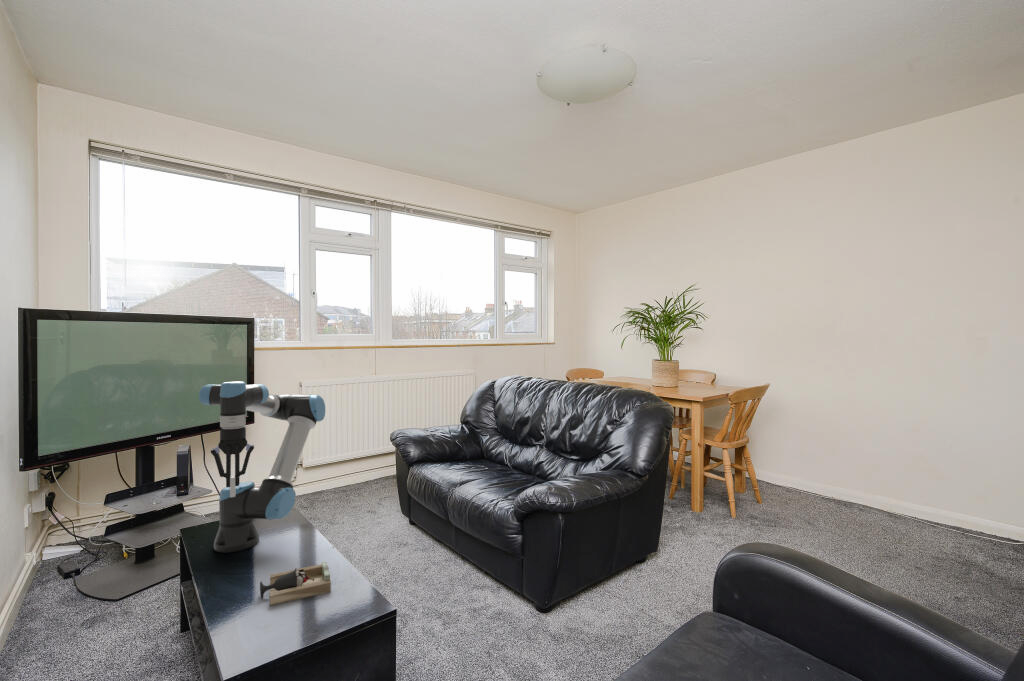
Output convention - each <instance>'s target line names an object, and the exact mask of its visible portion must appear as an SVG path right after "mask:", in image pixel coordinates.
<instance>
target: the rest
mask: <svg viewBox="0 0 1024 681" xmlns="http://www.w3.org/2000/svg"><path fill="white" fill-rule="evenodd" d="M295 569H296V570H297V571H298V570H302V569H304V570H303V572H304V573H305V574H306V575H307V576H308V577H309V579H308V580H307V581H306V582H305V583H303V584H302V586H298V587H294V588H289V589H285V590H280V591H277V590H276V589H274V588H272V589H269V606H270V607H272V606H276V605H280V604H281V605H282V604H285V603H290V602H293V601H297V600H301V599H306V598H310V597H314V596H319V595H322V594H327V593H331V592H332V589H331V588H332V581H331V573H330V570H329V565H328V562H327V561H322V562H321V563H320V564H315V565H310V566H306V567H302V568H295ZM295 569H292V570H287V571H282V572H277V573H273V574H270V575H269V582H270V583H269V585H272V584H274V583H275V581H276V580H277V579H278V578H279V577H281V576H283V575H285V574H288V573H290V572H292V571H294V570H295ZM311 578H312V580H311ZM313 579H314V581H313Z"/></svg>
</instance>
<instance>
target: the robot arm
mask: <svg viewBox="0 0 1024 681" xmlns="http://www.w3.org/2000/svg"><path fill="white" fill-rule="evenodd" d="M198 400H199V402H200V403H201V404H202V405H205V406H206V405H207V406H219V407H220V413H219V427H220V429H219V443H218V445H217V446H216V447H214V448H211V450H210V453H211V455H212V457H213V458H214V460H215V464H216V467H217V471H218V474H219V477H221V478H225V485H226V486H225V487H223V488H222V489H221V491H220V492H219V499H218V502H219V508H218V510H219V528H218V530H217V533H216V536H215V539H214V542H213V549H214V551H215V552H217V553H224V554H225V553H233V552H234V553H235V552H240V551H243V550H247V549H249V548H251V547H253V546H255V545H256V544H258V543H259V542H260V534H259V530H258V528H257V525H256V523H255V520H269V521H271V520H281V519H284V518H285V517H286V516H288V515H289V514H290V512H291V511H292V510H293V507H294V505H295V501H296V490H295V489H294V484H293V482H292V481H293V478H294V475H295V474H296V473H295V472H296V471H297V470H296V469H297V466H298V464H299V461H300V458H301V456H302V452H303V450H304V447H305V444H306V441H307V439H308V436H309V434H310V430H312V429H315V427H316V426H317V423H318V422H319V423H320V422H322V421H323V420H324V419H325V416H326V404H325V400H324V399H323V397H322V396H320V395H319V394H272V393H271V394H270V392H269V389H268V387H267V386H266V385H265V384H261V383H253V384H247V383H246V382H245V381H240V380H239V381H236V380H235V381H226V382H225V381H224V382H222V383H221V384H215V383H213V384H205V385H203V386H202V387H201V388H200V390H199V394H198ZM247 411H248V412H253V413H259V414H260V415H261V416H264V417H267V418H271V419H277V420H280V421H286V422H287V423H288V427H287V430H286V433H285V435H284V437H283V439H282V443H281V446H280V447H279V450H278V453H277V455H276V457H275V460H274V463H273V465H272V468H271V470H270V473H269V475H268V477H267V478H264V479H262V482H261V485H260V486H256V484H255V482H254V481H252V480H251V481H242V482H241V481H240V476H243V475H245V474H246V473H247V472H246V471H247V467H248V464H249V461H250V458H251V453H252V452H253V451H254V449H255V445H254V444H251V443H248V440H247V436H246V435H247V428H246V427H245V426H246V423H247V422H246V421H247V413H246V412H247ZM243 450H246V454H245V456H244V460H243V464H242V467H241V469H240V455H241V453H242V452H243ZM220 451H221V452H223V454H225V459H226V460H225V461H226V462H225V465H226V466H225V469H224V466H223V462H222V460H221V456H220ZM232 455H234V475H232Z"/></svg>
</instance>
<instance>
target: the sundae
mask: <svg viewBox="0 0 1024 681" xmlns="http://www.w3.org/2000/svg"><path fill="white" fill-rule="evenodd" d="M296 569H297V568H295V569H293V570H294V571H292V572H290V573H288V574H285V575H283V576H281V577H279V578H278V579H277V580H276V581H275V583H274V584H272V585H270V584H269V585H265V584H264V583H263V581H262V580H260V583H259V591H260V598H261V599H263V598H264V594H265V593H266V592H267V591H270V589H272V588H274V589H276V590H277V591H280V590H285V589H289V588H294V587H298V586H302V584H303V583H305V582H306V581H307V580H308V579H309V577H308V576H307V575H306V574H305V573H304V572H303V570H304V569H302V570H298V571H297V570H296ZM311 580H312V578H311ZM313 581H314V579H313Z"/></svg>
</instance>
